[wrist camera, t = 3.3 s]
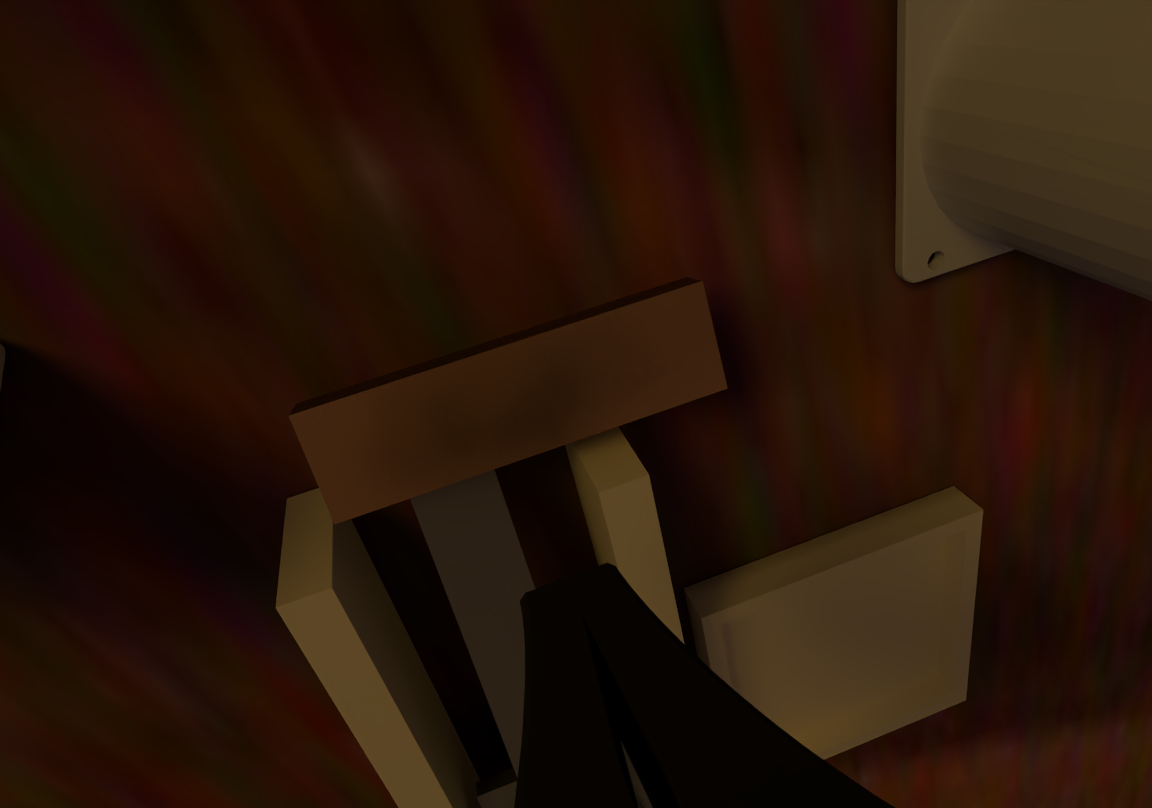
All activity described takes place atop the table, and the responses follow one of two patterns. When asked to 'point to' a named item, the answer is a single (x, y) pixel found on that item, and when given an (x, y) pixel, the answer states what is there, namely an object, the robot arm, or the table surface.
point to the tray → (850, 624)
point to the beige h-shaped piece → (383, 647)
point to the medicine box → (1, 362)
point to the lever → (503, 455)
